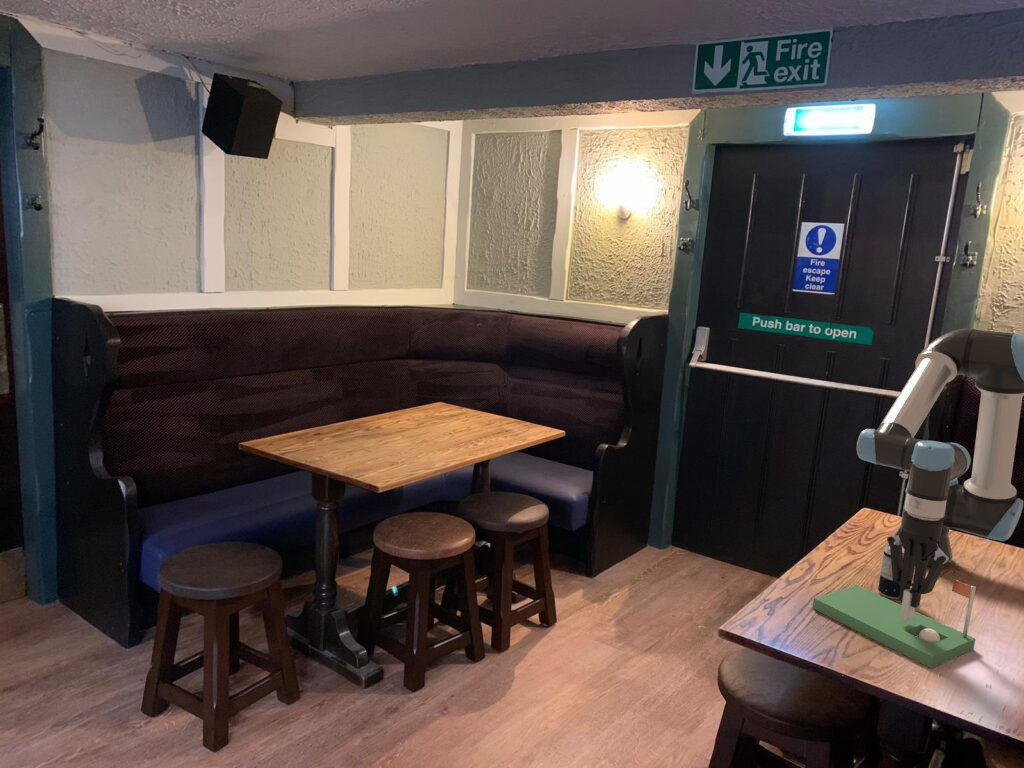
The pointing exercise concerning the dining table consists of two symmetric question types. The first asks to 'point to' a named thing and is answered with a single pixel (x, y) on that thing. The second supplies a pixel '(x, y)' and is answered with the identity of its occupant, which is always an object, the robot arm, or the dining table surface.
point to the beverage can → (888, 577)
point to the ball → (929, 635)
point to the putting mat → (893, 625)
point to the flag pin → (969, 593)
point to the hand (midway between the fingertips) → (906, 618)
